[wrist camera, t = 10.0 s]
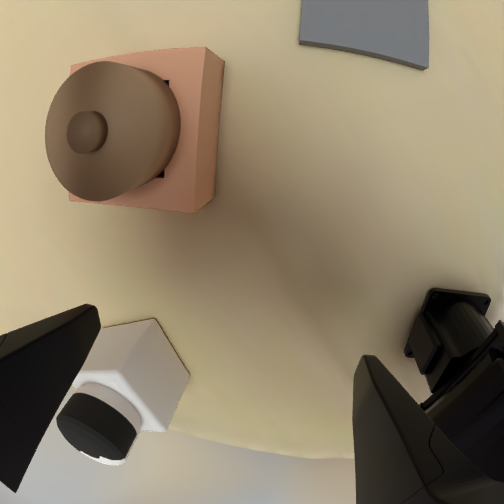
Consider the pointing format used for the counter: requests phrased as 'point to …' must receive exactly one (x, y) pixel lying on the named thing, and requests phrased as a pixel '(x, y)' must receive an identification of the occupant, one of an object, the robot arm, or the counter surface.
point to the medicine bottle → (123, 391)
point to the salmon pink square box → (191, 133)
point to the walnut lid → (111, 130)
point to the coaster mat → (369, 28)
